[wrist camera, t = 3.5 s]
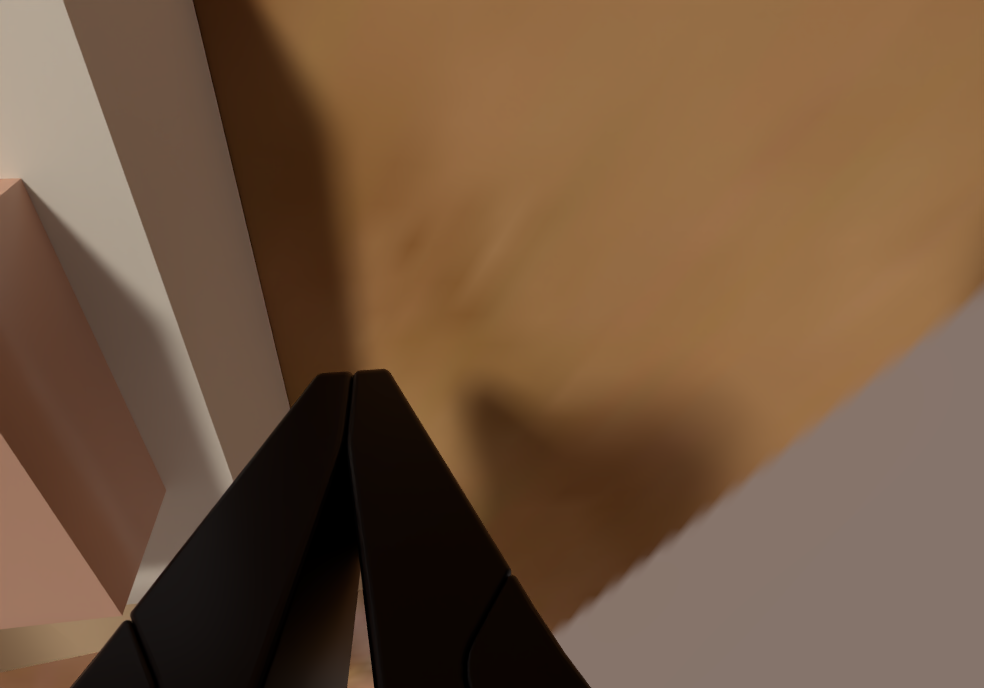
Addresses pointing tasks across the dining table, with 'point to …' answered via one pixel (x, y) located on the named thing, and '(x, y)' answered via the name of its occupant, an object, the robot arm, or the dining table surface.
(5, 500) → the tile
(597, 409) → the dining table surface
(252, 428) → the white flat box
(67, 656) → the wooden spatula
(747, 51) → the dining table surface
